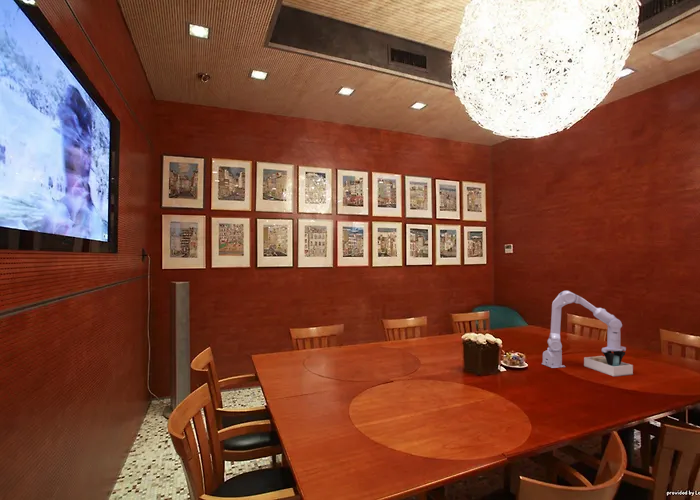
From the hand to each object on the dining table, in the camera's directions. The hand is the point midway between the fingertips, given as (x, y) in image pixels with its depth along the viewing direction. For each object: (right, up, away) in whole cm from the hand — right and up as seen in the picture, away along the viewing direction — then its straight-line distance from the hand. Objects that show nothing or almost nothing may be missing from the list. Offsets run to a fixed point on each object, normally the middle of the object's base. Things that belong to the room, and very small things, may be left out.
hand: (613, 364), depth 189 cm
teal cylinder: (0, -2, 0) cm, 2 cm away
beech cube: (-2, -4, +8) cm, 9 cm away
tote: (-1, -4, +3) cm, 5 cm away
